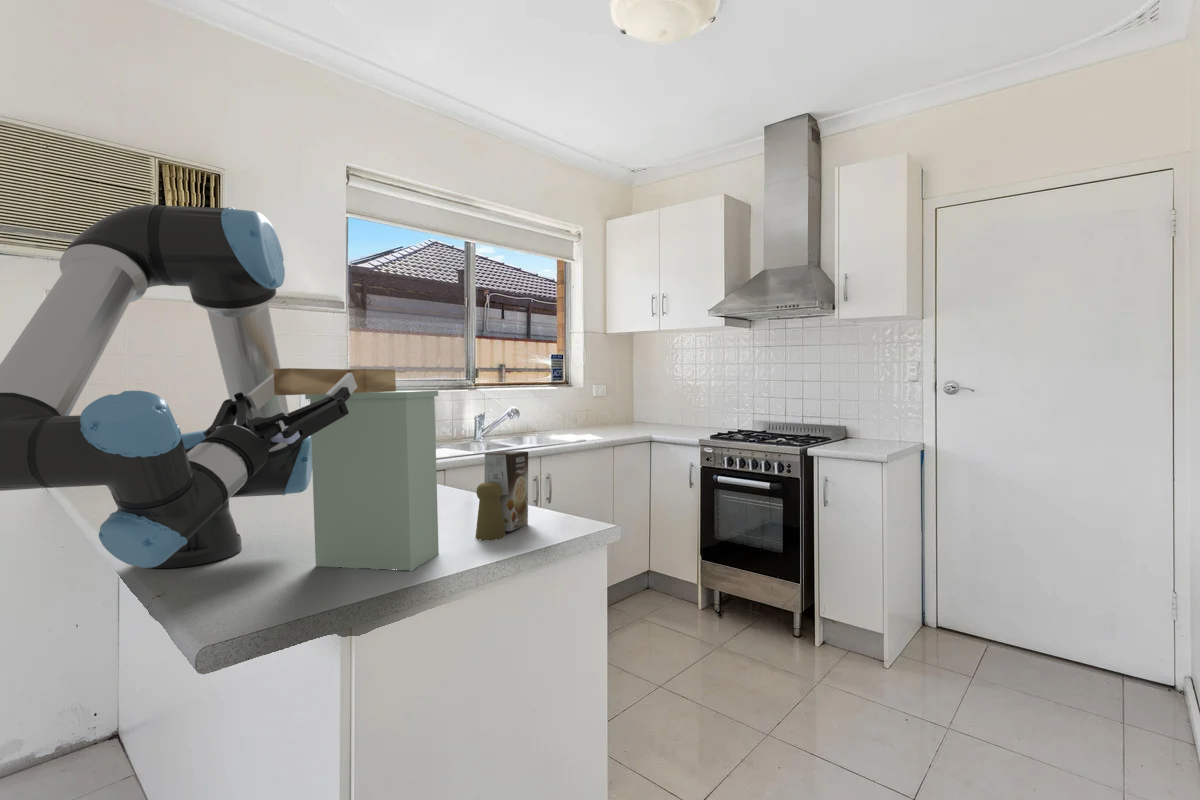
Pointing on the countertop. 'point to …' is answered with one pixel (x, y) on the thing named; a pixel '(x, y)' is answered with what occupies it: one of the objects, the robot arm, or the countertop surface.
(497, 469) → the coffee box
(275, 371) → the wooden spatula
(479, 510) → the cork
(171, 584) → the countertop surface
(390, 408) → the sage green shelf box
